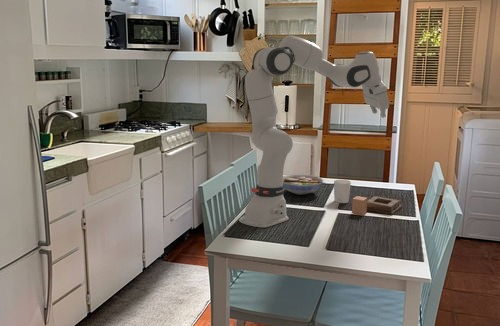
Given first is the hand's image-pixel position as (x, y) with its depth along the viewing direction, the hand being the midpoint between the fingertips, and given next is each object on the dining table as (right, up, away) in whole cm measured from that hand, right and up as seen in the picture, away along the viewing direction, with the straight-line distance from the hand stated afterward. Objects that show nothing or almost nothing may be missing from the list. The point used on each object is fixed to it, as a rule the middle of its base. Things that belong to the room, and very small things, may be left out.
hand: (379, 115), depth 218 cm
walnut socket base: (+2, -43, +3) cm, 43 cm away
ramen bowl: (-33, -38, +27) cm, 57 cm away
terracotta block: (-10, -45, -4) cm, 46 cm away
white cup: (-15, -41, +13) cm, 45 cm away
